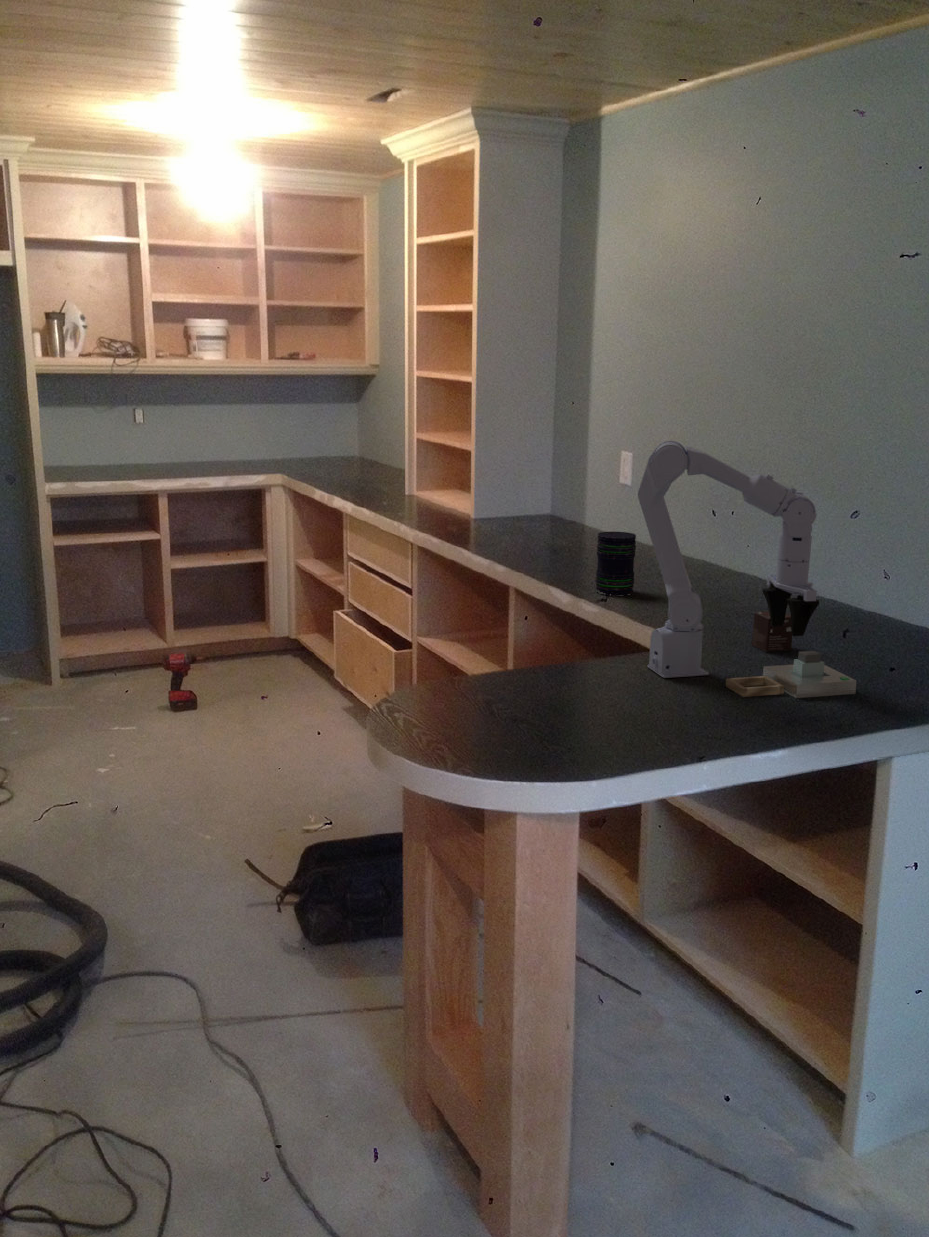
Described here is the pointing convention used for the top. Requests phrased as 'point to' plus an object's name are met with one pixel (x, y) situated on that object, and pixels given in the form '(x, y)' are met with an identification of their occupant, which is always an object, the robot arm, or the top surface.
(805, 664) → the plug
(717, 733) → the top surface
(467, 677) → the top surface
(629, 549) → the storage jar
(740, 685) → the tan square frame
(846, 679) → the port
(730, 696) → the top surface
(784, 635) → the box
